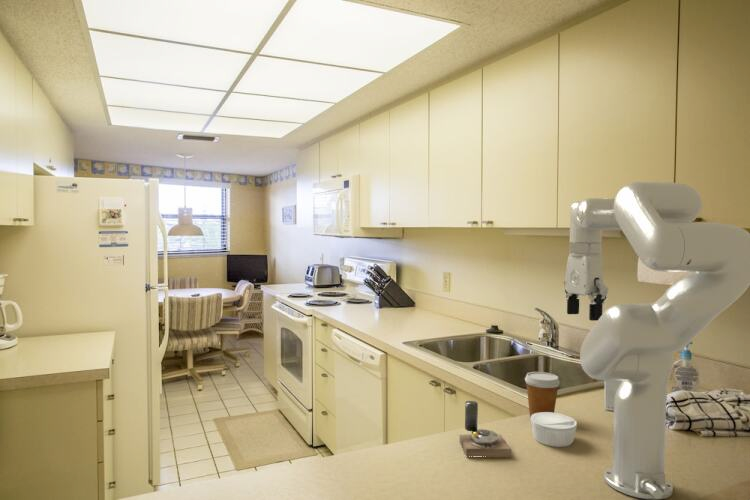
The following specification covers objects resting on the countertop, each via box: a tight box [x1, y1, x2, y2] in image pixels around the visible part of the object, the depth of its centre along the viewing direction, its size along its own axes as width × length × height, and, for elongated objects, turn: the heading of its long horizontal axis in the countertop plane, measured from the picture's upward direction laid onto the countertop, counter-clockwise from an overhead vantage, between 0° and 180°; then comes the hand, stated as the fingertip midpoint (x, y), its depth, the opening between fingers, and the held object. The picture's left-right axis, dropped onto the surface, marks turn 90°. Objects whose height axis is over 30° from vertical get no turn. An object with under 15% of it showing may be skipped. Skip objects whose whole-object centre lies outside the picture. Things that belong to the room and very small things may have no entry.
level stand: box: [459, 434, 512, 458], centre depth 120 cm, size 8×10×2 cm
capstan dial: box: [464, 400, 498, 445], centre depth 121 cm, size 7×8×8 cm
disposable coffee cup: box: [524, 371, 561, 418], centre depth 142 cm, size 10×10×12 cm
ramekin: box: [530, 412, 578, 448], centre depth 127 cm, size 11×11×5 cm
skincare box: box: [604, 380, 623, 412], centre depth 151 cm, size 8×6×15 cm
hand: (583, 317), depth 127 cm, fingers open, 9 cm apart
